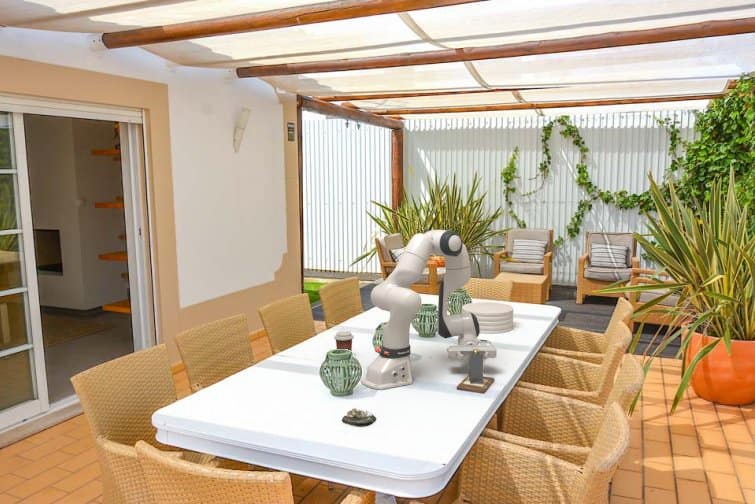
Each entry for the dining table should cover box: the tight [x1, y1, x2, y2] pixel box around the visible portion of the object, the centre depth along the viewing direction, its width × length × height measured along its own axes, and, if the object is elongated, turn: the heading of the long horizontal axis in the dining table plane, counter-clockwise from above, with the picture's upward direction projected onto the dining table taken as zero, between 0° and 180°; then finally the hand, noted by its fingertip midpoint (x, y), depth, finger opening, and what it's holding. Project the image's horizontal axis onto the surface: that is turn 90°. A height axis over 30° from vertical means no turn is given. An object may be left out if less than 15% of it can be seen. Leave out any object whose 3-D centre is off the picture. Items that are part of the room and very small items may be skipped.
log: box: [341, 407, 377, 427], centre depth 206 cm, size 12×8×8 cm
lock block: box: [468, 349, 484, 384], centre depth 238 cm, size 5×5×13 cm
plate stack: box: [461, 301, 514, 335], centre depth 329 cm, size 28×28×12 cm
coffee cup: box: [333, 330, 355, 351], centre depth 277 cm, size 9×9×12 cm
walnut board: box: [456, 373, 495, 394], centre depth 239 cm, size 16×11×1 cm
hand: (473, 357), depth 245 cm, fingers open, 8 cm apart
